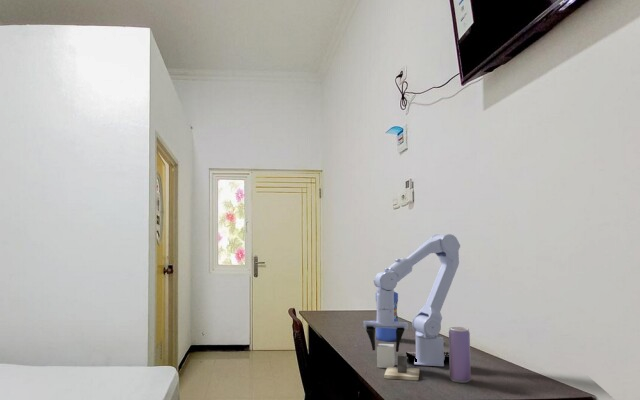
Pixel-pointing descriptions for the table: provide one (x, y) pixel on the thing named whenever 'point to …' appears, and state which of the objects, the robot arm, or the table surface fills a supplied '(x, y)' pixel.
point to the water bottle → (390, 333)
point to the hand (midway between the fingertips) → (385, 350)
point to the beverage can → (459, 354)
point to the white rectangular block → (385, 355)
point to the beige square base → (402, 370)
